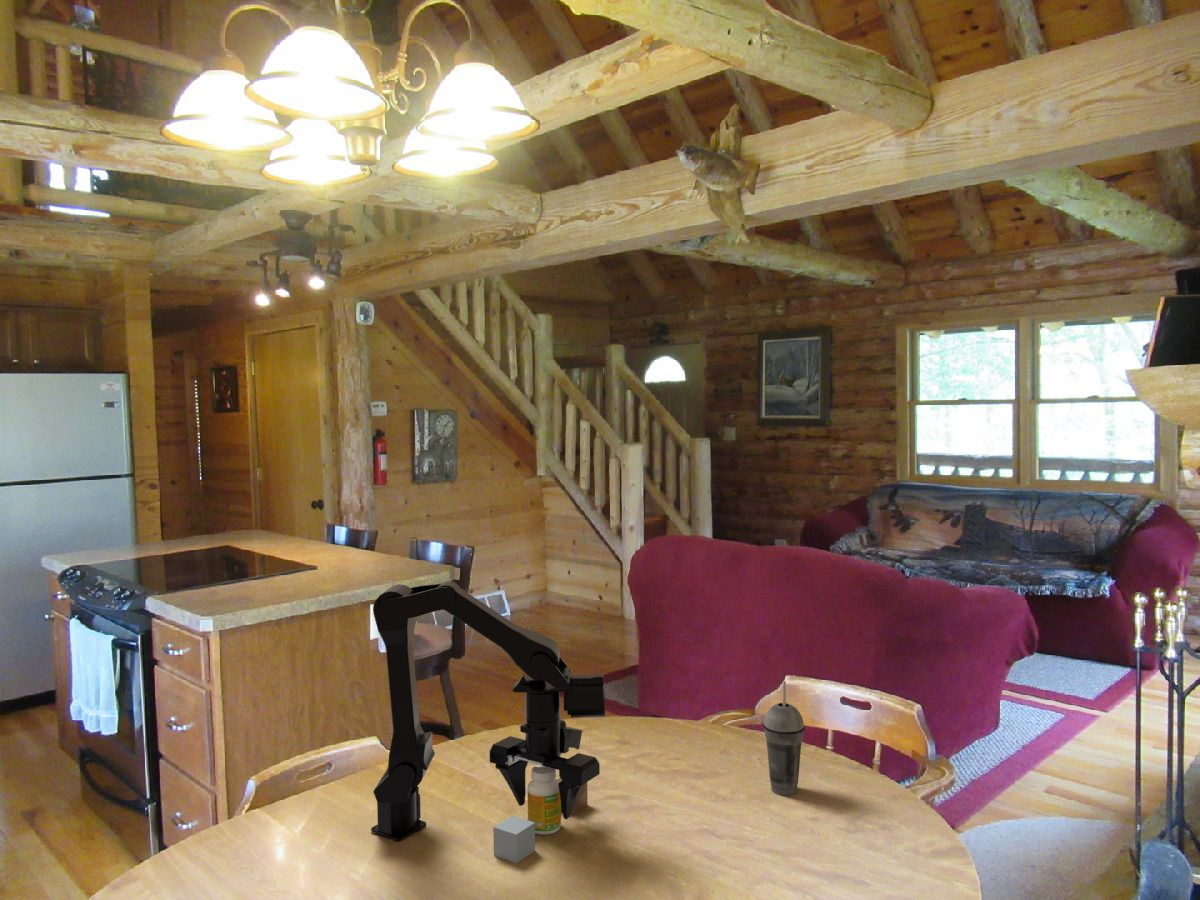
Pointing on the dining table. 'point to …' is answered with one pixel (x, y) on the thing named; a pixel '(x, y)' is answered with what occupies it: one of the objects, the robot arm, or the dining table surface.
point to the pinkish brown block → (579, 798)
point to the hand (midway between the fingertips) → (544, 811)
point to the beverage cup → (784, 746)
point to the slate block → (514, 839)
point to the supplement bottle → (544, 800)
